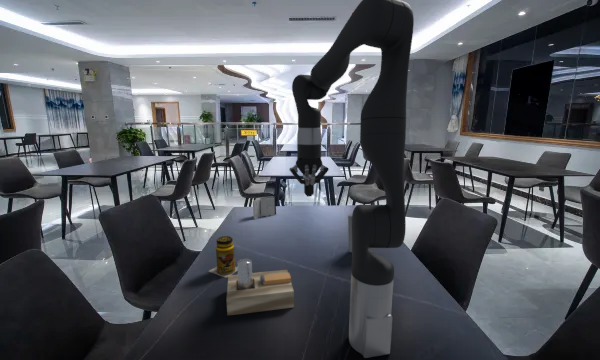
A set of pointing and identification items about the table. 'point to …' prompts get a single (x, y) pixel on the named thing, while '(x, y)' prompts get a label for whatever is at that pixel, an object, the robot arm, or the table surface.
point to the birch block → (258, 295)
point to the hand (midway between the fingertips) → (308, 195)
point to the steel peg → (245, 274)
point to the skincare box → (351, 234)
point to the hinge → (264, 206)
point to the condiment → (225, 257)
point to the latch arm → (275, 278)
